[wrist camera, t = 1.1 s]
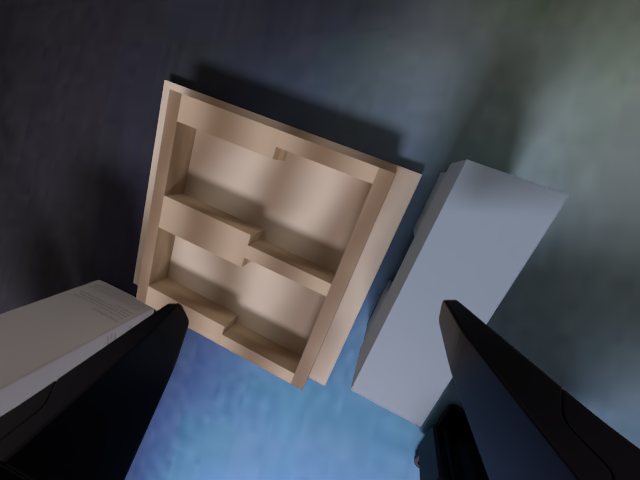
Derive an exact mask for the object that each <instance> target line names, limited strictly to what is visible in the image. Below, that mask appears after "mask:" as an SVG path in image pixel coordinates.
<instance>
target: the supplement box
mask: <svg viewBox="0 0 640 480" xmlns="http://www.w3.org/2000/svg"><path fill="white" fill-rule="evenodd" d="M153 313H154V308H152V307H150V306H148V305H146V304H145V303H143V302H141V301H139V300H137V299H136V297H134V296H132V295H130V294H128V293H126V292H124V291H122V290H120V289H118V288H116V287H114V286H112V285H110V284H108V283H106V282H104V281H101V280H96V281H93V282H90V283H88V284H85V285H82V286H79V287H76V288H73V289H70V290H68V291H65V292H62V293H59V294H56V295H53V296H51V297H48V298H45V299H42V300H39V301H37V302H34V303H31V304H28V305H25V306H23V307H20V308H17V309H14V310H11V311H8V312H5V313H2V314H0V417H1V416H2V415H4V414H5V413H7V412H9V411H10V410H12V409H13V408H15V407H17V406H18V405H20V404H21V403H23V402H24V401H26V400H27V399H29V398H30V397H32V396H33V395H35V394H36V393H38V392H39V391H41V390H42V389H44V388H45V387H46V386H48V385H49V384H51V383H52V382H54V381H57V379H58V378H60V377H61V376H63V375H64V374H66V373H67V372H68V371H70V370H71V369H73V368H74V367H76V366H77V365H79V364H80V363H82V362H83V361H85V360H86V359H87V358H89V357H90V356H92V355H93V354H95V353H96V352H98V351H99V350H101V349H102V348H104V347H105V346H107V345H108V344H109V343H111V342H112V341H114V340H115V339H117V338H118V337H120V336H121V335H123V334H124V333H126V332H127V331H128V330H130V329H131V328H133V327H134V326H136V325H137V324H139V323H140V322H142V321H143V320H145V319H146V318H147V317H149V316H150V315H152V314H153Z"/></svg>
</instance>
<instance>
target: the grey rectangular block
mask: <svg viewBox="0 0 640 480" xmlns="http://www.w3.org/2000/svg"><path fill="white" fill-rule="evenodd" d="M568 197H569V195H568V194H565V193H562V192H559V191H556V190H554V189H551V188H548V187H545V186H542V185H539V184H536V183H533V182H531V181H528V180H525V179H522V178H519V177H516V176H513V175H511V174H508V173H505V172H502V171H499V170H496V169H493V168H490V167H488V166H485V165H482V164H479V163H476V162H473V161H470V160H468V159H466V160H462V161H458V162H454V163H451V164H450V166H449V168H448V170H447V172H443V173H440V174H439V176H438V178H437V181H436V183H435V185H434V187H433V189H432V191H431V193H430V195H429V197H428V199H427V201H426V203H425V205H424V208H423V210H422V212H421V214H420V216H419V218H418V220H417V222H416V224H415V226H414V228H413V232H414V239H413V241H412V244H411V246H410V248H409V250H408V252H407V254H406V256H405V258H404V260H403V262H402V264H401V266H400V268H399V270H398V272H397V274H396V276H395V278H394V280H393V281H391V280H388V282H387V284H386V287H385V289H384V291H383V293H382V295H381V297H380V299H379V301H378V303H377V305H376V307H375V309H374V311H373V314H372V316H371V318H370V320H369V322H368V324H367V328H366V333H365V337H364V341H363V344H362V346H361V348H360V352H359V357H358V361H357V365H356V369H355V374H354V378H353V382H352V386H351V390H352V391H353V392H355V393H357V394H359V395H361V396H363V397H365V398H367V399H369V400H370V401H372V402H374V403H376V404H378V405H380V406H382V407H384V408H385V409H387V410H389V411H391V412H393V413H395V414H397V415H399V416H401V417H402V418H404V419H406V420H408V421H410V422H412V423H414V424H416V425H418V426H419V427H421V425H422V424H423V422H424V421H425V419H426V418H427V416H428V415H429V413H430V411H431V410H432V408H433V407H434V405H435V404H436V402H437V401H438V399H439V397H440V396H441V394H442V393H443V391H444V390H445V388H446V387H447V385H448V383H449V382H450V380H451V379H452V374H451V371H450V367H449V363H448V359H447V355H446V351H445V346H444V342H443V338H442V334H441V329H440V325H439V314H440V310H441V305H442V302H443V300H457V301H459V302H460V303H461V304H462V305H464V306H465V307H466V308H467V309H468V310H470V311H471V312H472V313H473V314H474V315H476V316H477V317H478V318H479V319H480V320H482V321H483V322H484V323H485V324H487V323H488V321H489V320H490V318H491V317H492V315H493V314H494V312H495V310H496V309H497V307H498V306H499V304H500V303H501V301H502V300H503V298H504V296H505V295H506V293H507V292H508V290H509V289H510V287H511V286H512V284H513V282H514V281H515V279H516V278H517V276H518V275H519V273H520V272H521V270H522V268H523V267H524V265H525V264H526V262H527V261H528V259H529V258H530V256H531V254H532V253H533V251H534V250H535V248H536V247H537V245H538V244H539V242H540V240H541V239H542V237H543V236H544V234H545V233H546V231H547V230H548V228H549V226H550V225H551V223H552V222H553V220H554V219H555V217H556V216H557V214H558V212H559V211H560V209H561V208H562V206H563V205H564V203H565V202H566V200H567V198H568Z"/></svg>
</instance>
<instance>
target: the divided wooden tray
mask: <svg viewBox="0 0 640 480" xmlns="http://www.w3.org/2000/svg"><path fill="white" fill-rule="evenodd" d="M421 176H422V174H419V173H416V172H414V171H411V170H408V169H406V168H403V167H400V166H397V165H395V164H392V163H389V162H386V161H384V160H381V159H378V158H376V157H373V156H370V155H367V154H365V153H362V152H359V151H357V150H354V149H351V148H348V147H346V146H343V145H340V144H338V143H335V142H332V141H329V140H327V139H324V138H321V137H319V136H316V135H313V134H310V133H308V132H305V131H302V130H300V129H297V128H294V127H291V126H289V125H286V124H283V123H281V122H278V121H275V120H272V119H270V118H267V117H264V116H262V115H259V114H256V113H253V112H251V111H248V110H245V109H243V108H240V107H237V106H234V105H232V104H229V103H226V102H224V101H221V100H218V99H215V98H213V97H210V96H207V95H205V94H202V93H199V92H196V91H194V90H191V89H188V88H186V87H183V86H180V85H177V84H175V83H172V82H169V81H167V80H165V81H164V87H163V94H162V100H161V107H160V113H159V120H158V126H157V133H156V139H155V146H154V152H153V159H152V165H151V172H150V178H149V184H148V191H147V197H146V204H145V210H144V217H143V223H142V230H141V236H140V243H139V249H138V256H137V262H136V269H135V275H134V281H133V283H134V284H136V285H138V289H137V295H136V299H137V300H139V301H141V302H143V303H145V304H146V305H148V306H150V307H152V308H154V309H155V310H157V311H158V310H159V309H161V308H162V307H164V306H165V305H167V304H169V303H180V304H181V305H182V306H183V308H184V310H185V313H186V315H187V317H188V319H189V325H188V328H190V329H192V330H194V331H196V332H197V333H199V334H201V335H203V336H205V337H207V338H208V339H210V340H212V341H214V342H216V343H217V344H219V345H221V346H223V347H225V348H227V349H228V350H230V351H232V352H234V353H236V354H238V355H239V356H241V357H243V358H245V359H247V360H248V361H250V362H252V363H254V364H256V365H258V366H259V367H261V368H263V369H265V370H267V371H269V372H270V373H272V374H274V375H276V376H278V377H279V378H281V379H283V380H285V381H287V382H289V383H290V384H292V385H294V386H296V387H298V388H300V389H301V390H302V389H303V387H304V385H305V383H306V381H307V379H308V377H309V378H311V379H313V380H315V381H317V382H319V383H320V384H322V385H324V386H325V384H326V382H327V380H328V378H329V375H330V373H331V371H332V369H333V367H334V365H335V362H336V360H337V358H338V356H339V354H340V352H341V350H342V347H343V345H344V343H345V341H346V339H347V337H348V334H349V332H350V330H351V328H352V326H353V324H354V321H355V319H356V317H357V315H358V313H359V311H360V308H361V306H362V304H363V302H364V300H365V298H366V295H367V293H368V291H369V289H370V287H371V285H372V282H373V280H374V278H375V276H376V274H377V272H378V269H379V267H380V265H381V263H382V261H383V259H384V256H385V254H386V252H387V250H388V248H389V246H390V243H391V241H392V239H393V237H394V235H395V233H396V230H397V228H398V226H399V224H400V222H401V220H402V217H403V215H404V213H405V211H406V209H407V207H408V204H409V202H410V200H411V198H412V196H413V194H414V191H415V189H416V187H417V185H418V183H419V181H420V178H421Z"/></svg>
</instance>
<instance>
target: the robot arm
mask: <svg viewBox="0 0 640 480" xmlns="http://www.w3.org/2000/svg"><path fill="white" fill-rule="evenodd" d="M188 325H189V319H188V317H187V315H186V313H185V310H184V308H183V306H182V305H181V304H180V303H169V304H167V305H165V306H164V307H162V308H161V309H159V310H158V311H156V312H155V313H153V314H152V315H150V316H149V317H147V318H146V319H145V320H143V321H142V322H140V323H139V324H137V325H136V326H134V327H133V328H131V329H130V330H128V331H127V332H126V333H124V334H123V335H121V336H120V337H118V338H117V339H115V340H114V341H112V342H111V343H109V344H108V345H107V346H105V347H104V348H102V349H101V350H99V351H98V352H96V353H95V354H93V355H92V356H90V357H89V358H87V359H86V360H85V361H83V362H82V363H80V364H79V365H77V366H76V367H74V368H73V369H71V370H70V371H68V372H67V373H66V374H64V375H63V376H61V377H60V378H58V379H57V381H54V382H52V383H51V384H49V385H48V386H46V387H45V388H44V389H42V390H41V391H39V392H38V393H36V394H35V395H33V396H32V397H30V398H29V399H27V400H26V401H24V402H23V403H21V404H20V405H18V406H17V407H15V408H13V409H12V410H10V411H9V412H7V413H5V414H4V415H2V416H1V417H0V480H125V478H126V476H127V473H128V471H129V469H130V467H131V464H132V462H133V460H134V457H135V455H136V453H137V451H138V448H139V446H140V444H141V442H142V439H143V437H144V435H145V433H146V430H147V428H148V426H149V424H150V421H151V419H152V417H153V415H154V412H155V410H156V408H157V406H158V403H159V401H160V399H161V397H162V394H163V392H164V390H165V388H166V385H167V383H168V381H169V379H170V376H171V374H172V372H173V369H174V367H175V364H176V361H177V359H178V356H179V353H180V350H181V347H182V344H183V340H184V337H185V334H186V331H187V328H188ZM439 325H440V329H441V334H442V338H443V342H444V346H445V351H446V355H447V359H448V363H449V367H450V371H451V374H452V377H453V380H454V382H455V385H456V388H457V391H458V394H459V396H460V399H461V402H462V405H463V408H464V409H463V408H461V407H459V406H457V405H449V406H448V407H447V408H446V409H445V411H444V412H443V414H442V415H441V417H440V418H439V420H438V421H437V423H436V424H434V425H432V426H431V428H430V429H429V431H428V432H427V434H426V435H425V437H424V438H423V440H422V441H421V443H420V444H419V446H418V452H417V453H416V455H415V457H414V462H415V465H416V466H417V467H418V468H419V469H420V480H640V449H639V448H638V447H636V446H635V445H633V444H632V443H631V442H630V441H628V440H627V439H626V438H624V437H623V436H622V435H620V434H619V433H618V432H616V431H615V430H614V429H612V428H611V427H610V426H608V425H607V424H606V423H605V422H603V421H602V420H601V419H600V418H598V417H597V416H596V415H595V414H593V413H592V412H591V411H590V410H588V409H587V408H586V407H585V406H583V405H582V404H581V403H580V402H579V401H577V400H576V399H575V398H574V397H573V396H571V395H570V394H569V393H568V392H567V391H565V390H562V388H561V387H560V386H559V385H558V384H557V383H556V382H554V381H553V380H552V379H551V378H550V377H549V376H547V375H546V374H545V373H544V372H543V371H541V370H540V369H539V368H538V367H537V366H535V365H534V364H533V363H532V362H531V361H529V360H528V359H527V358H526V357H525V356H523V355H522V354H521V353H520V352H519V351H517V350H516V349H515V348H514V347H513V346H511V345H510V344H509V343H508V342H507V341H506V340H504V339H503V338H502V337H501V336H500V335H498V334H497V333H496V332H495V331H494V330H492V329H491V328H490V327H489V326H488V325H486V324H485V323H484V322H483V321H482V320H480V319H479V318H478V317H477V316H476V315H474V314H473V313H472V312H471V311H470V310H468V309H467V308H466V307H465V306H464V305H462V304H461V303H460V302H459V301H457V300H443V302H442V305H441V310H440V314H439ZM452 412H457V413H452Z"/></svg>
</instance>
